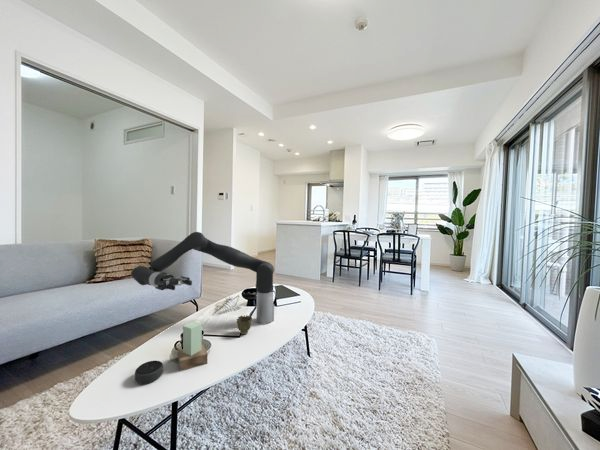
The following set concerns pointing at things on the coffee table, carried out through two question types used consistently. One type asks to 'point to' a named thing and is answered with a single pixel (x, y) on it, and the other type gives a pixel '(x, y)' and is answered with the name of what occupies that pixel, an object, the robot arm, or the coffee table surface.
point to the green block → (192, 338)
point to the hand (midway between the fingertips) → (183, 285)
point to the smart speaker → (148, 372)
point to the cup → (244, 324)
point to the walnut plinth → (191, 359)
